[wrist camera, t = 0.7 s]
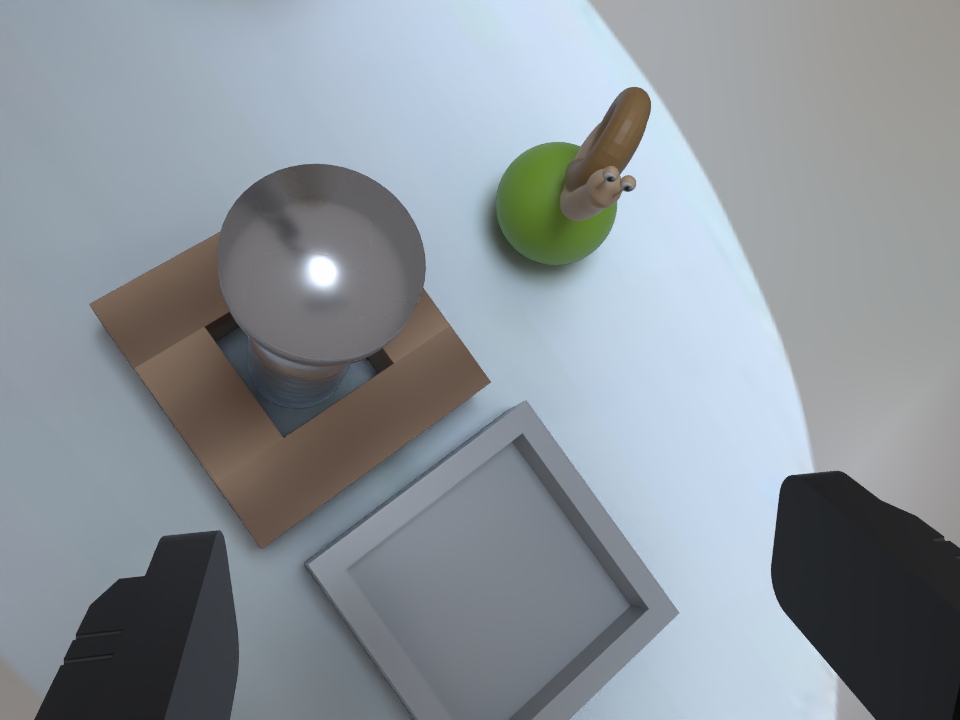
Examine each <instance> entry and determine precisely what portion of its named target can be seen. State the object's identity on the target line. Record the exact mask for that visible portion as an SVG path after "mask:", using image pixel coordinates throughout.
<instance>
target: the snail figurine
mask: <svg viewBox="0 0 960 720" xmlns="http://www.w3.org/2000/svg"><path fill="white" fill-rule="evenodd" d="M650 111H651V101H650V98H649V96H648V94H647V92H645V91H644V90H643V89H641V88H638V87H630V88H627V89H625V90H624V91H622V92H621V93H620V94H619V95H618V96H617V98H616V99H615V100H614V102H613V103H612V105H611V106H610V108H609V110H608V111H607V113H606V115H605V117H604V118H603V120H602V122H601V123H600V124H599V125H597V126H596V128H595V129H594V130H593V131H592V132H591V133H590V135H589V136H588V137H587V139H586V140H585V141H584V143H583V144H582V146H581V147H580V146H577V145H574V144H570V143H564V142H551V143H545V144H541V145H538V146H535V147H533V148H531V149H529V150H527V151H525V152H524V153H522V154H521V155H520V156H519V157H517V158H516V159H515V160H514V161H513V162H512V163H511V165H510V166H509V167H508V169H507V170H506V172H505V173H504V175H503V177H502V179H501V181H500V184H499V187H498V191H497V197H496V212H497V218H498V222H499V225H500V228H501V230H502V232H503V234H504V236H505V237H506V239H507V240H508V242H509V243H510V244H511V245H512V246H513V248H514V249H516V250H517V251H518V252H519V253H520V254H522V255H523V256H525V257H527V258H529V259H531V260H533V261H535V262H539V263H542V264H548V265H563V264H569V263H572V262H575V261H578V260H580V259H583V258H584V257H586V256H588V255H589V254H591V253H592V252H593V251H595V250H596V249H597V248H598V247H599V246H600V245H601V244H602V243H603V241H604V240H605V239H606V237H607V236H608V234H609V232H610V230H611V228H612V226H613V223H614V220H615V216H616V211H617V200H618V199H619V197H620V195H621V193H622V191H626V192H630V191H632V190H633V189H634V188H635V187H636V180H635V178H634V177H632V176H629V175H627V176H624V177H623V178H622V179H621V177H620V174H621V173H622V171H623V170H624V169H625V167H626V166H627V164H628V163H629V161H630V160H631V158H632V156H633V155H634V153H635V151H636V149H637V147H638V145H639V143H640V141H641V139H642V137H643V134H644V132H645V128H646V124H647V121H648V119H649V115H650Z"/></svg>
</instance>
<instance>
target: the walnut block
mask: <svg viewBox="0 0 960 720" xmlns="http://www.w3.org/2000/svg"><path fill="white" fill-rule="evenodd" d="M219 236H220V232H219V233H217V234H215V235H213V236H212V237H210V238H208V239H206V240H204V241H203V242H201V243H199V244H197V245H195V246H194V247H192V248H190V249H188V250H186V251H184V252H183V253H181V254H179V255H177V256H175V257H174V258H172V259H170V260H168V261H166V262H165V263H163V264H161V265H159V266H157V267H155V268H154V269H152V270H150V271H148V272H146V273H145V274H143V275H141V276H139V277H137V278H136V279H134V280H132V281H130V282H128V283H127V284H125V285H123V286H121V287H119V288H117V289H116V290H114V291H112V292H110V293H108V294H107V295H105V296H103V297H101V298H99V299H98V300H96V301H94V302H92V303H90V304H89V305H90V307H91V308H92V310H93V311H94V313H95V314H96V316H97V317H98V319H99V320H100V322H101V323H102V325H103V326H104V328H105V329H106V331H107V332H108V333H109V335H110V336H111V338H112V339H113V340H114V342H115V343H116V345H117V346H118V348H119V349H120V350H121V352H122V353H123V355H124V356H125V357H126V359H127V360H128V362H129V363H130V364H131V366H132V367H133V369H134V370H135V371H136V373H137V374H138V376H139V377H140V379H141V380H142V381H143V383H144V384H145V386H146V387H147V388H148V390H149V391H150V393H151V394H152V395H153V397H154V398H155V400H156V401H157V403H158V404H159V405H160V407H161V408H162V410H163V411H164V412H165V414H166V415H167V417H168V418H169V419H170V421H171V422H172V424H173V425H174V426H175V428H176V429H177V431H178V432H179V434H180V435H181V436H182V438H183V439H184V441H185V442H186V443H187V445H188V446H189V448H190V449H191V450H192V452H193V453H194V455H195V456H196V458H197V459H198V460H199V462H200V463H201V465H202V466H203V467H204V469H205V470H206V472H207V473H208V474H209V476H210V477H211V479H212V480H213V482H214V483H215V484H216V486H217V487H218V489H219V490H220V491H221V493H222V494H223V496H224V497H225V498H226V500H227V501H228V503H229V504H230V505H231V507H232V508H233V510H234V511H235V513H236V514H237V515H238V517H239V518H240V520H241V521H242V522H243V524H244V525H245V527H246V528H247V529H248V531H249V532H250V534H251V535H252V537H253V538H254V539H255V541H256V542H257V544H258V545H259V546H260V548H264V547H265V546H266V545H268V544H269V543H270V542H272V541H273V540H275V539H276V538H277V537H279V536H280V535H281V534H283V533H284V532H286V531H287V530H288V529H290V528H291V527H292V526H294V525H295V524H297V523H298V522H299V521H301V520H302V519H303V518H305V517H306V516H308V515H309V514H310V513H312V512H313V511H314V510H316V509H317V508H319V507H320V506H321V505H323V504H324V503H326V502H327V501H328V500H330V499H331V498H332V497H334V496H335V495H337V494H338V493H339V492H341V491H342V490H343V489H345V488H346V487H348V486H349V485H350V484H352V483H353V482H354V481H356V480H357V479H359V478H360V477H361V476H363V475H364V474H365V473H367V472H368V471H370V470H371V469H372V468H374V467H375V466H376V465H378V464H379V463H381V462H382V461H383V460H385V459H386V458H387V457H389V456H390V455H392V454H393V453H394V452H396V451H397V450H398V449H400V448H401V447H403V446H404V445H405V444H407V443H408V442H410V441H411V440H412V439H414V438H415V437H416V436H418V435H419V434H421V433H422V432H423V431H425V430H426V429H427V428H429V427H430V426H432V425H433V424H434V423H436V422H437V421H438V420H440V419H441V418H443V417H444V416H445V415H447V414H448V413H449V412H451V411H452V410H454V409H455V408H456V407H458V406H459V405H460V404H462V403H463V402H465V401H466V400H467V399H469V398H470V397H471V396H473V395H474V394H476V393H477V392H478V391H480V390H481V389H483V388H484V387H485V386H487V385H488V384H489V383H491V381H490V380H489V379H488V377H487V376H486V374H485V373H484V372H483V370H482V369H481V368H480V366H479V365H478V363H477V362H476V361H475V359H474V358H473V356H472V355H471V354H470V352H469V351H468V349H467V348H466V347H465V345H464V344H463V342H462V341H461V340H460V338H459V337H458V336H457V334H456V333H455V331H454V330H453V329H452V327H451V326H450V324H449V323H448V322H447V320H446V319H445V317H444V316H443V315H442V313H441V312H440V311H439V309H438V308H437V306H436V305H435V304H434V302H433V301H432V299H431V298H430V297H429V295H428V294H427V292H426V291H425V290H424V288H423V290H422V294H421V296H420V299H419V302H418V304H417V306H416V308H415V310H414V312H413V313H412V315H411V317H410V318H409V319H408V321H407V322H406V324H405V325H404V326H403V328H402V329H401V330H400V332H399V333H398V334H397V335H396V336H395V337H394V338H393V339H392V340H391V341H390V343H388V344H387V345H386V346H384V347H383V348H382V349H381V350H379V351H378V352H376V353H374V354H372V355H371V356H369V357H367V358H368V359H369V361H370V362H371V363H372V365H373V366H374V368H375V369H376V370H377V372H378V373H379V374H378V375H376V376H375V377H373V378H372V379H370V380H369V381H367V382H366V383H364V384H363V385H361V386H360V387H358V388H357V389H355V390H354V391H353V392H351V393H350V394H348V395H347V396H345V397H344V398H342V399H341V400H339V401H338V402H336V403H335V404H333V405H332V406H330V407H329V408H327V409H326V410H324V411H323V412H321V413H320V414H319V415H317V416H316V417H314V418H313V419H311V420H310V421H308V422H307V423H305V424H304V425H302V426H301V427H299V428H298V429H296V430H295V431H293V432H292V433H290V434H289V435H288V436H286V437H285V438H283V436H282V435H281V434H280V432H279V431H278V429H277V428H276V426H275V425H274V424H273V422H272V421H271V419H270V418H269V417H268V415H267V414H266V412H265V411H264V410H263V408H262V407H261V405H260V404H259V403H258V401H257V400H256V398H255V397H254V396H253V394H252V393H251V391H250V390H249V389H248V387H247V386H246V384H245V383H244V382H243V380H242V379H241V377H240V376H239V375H238V373H237V372H236V370H235V369H234V367H233V366H232V365H231V363H230V362H229V360H228V359H227V358H226V356H225V355H224V353H223V352H222V351H221V349H220V348H219V346H218V345H217V344H216V342H215V341H216V340H218V339H219V338H221V337H223V336H224V335H226V334H228V333H229V332H231V331H233V330H234V329H236V328H237V327H239V325H238V324H237V323H236V321H235V320H234V318H233V316H232V315H231V313H230V312H229V309H228V307H227V305H226V303H225V300H224V298H223V294H222V291H221V287H220V280H219V273H218V263H217V248H218V242H219Z"/></svg>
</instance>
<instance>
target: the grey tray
mask: <svg viewBox="0 0 960 720" xmlns="http://www.w3.org/2000/svg"><path fill="white" fill-rule="evenodd" d="M304 564H305V566H306V567H307V569H308V570H309V571H310V573H311V574H312V576H313V577H314V578H315V580H316V581H317V583H318V584H319V586H320V587H321V588H322V590H323V591H324V593H325V594H326V595H327V597H328V598H329V600H330V601H331V602H332V604H333V605H334V607H335V608H336V609H337V611H338V612H339V614H340V615H341V616H342V618H343V619H344V621H345V622H346V624H347V625H348V626H349V628H350V629H351V631H352V632H353V633H354V635H355V636H356V638H357V639H358V640H359V642H360V643H361V645H362V646H363V647H364V649H365V650H366V652H367V653H368V655H369V656H370V657H371V659H372V660H373V662H374V663H375V664H376V666H377V667H378V669H379V670H380V671H381V673H382V674H383V676H384V677H385V678H386V680H387V681H388V683H389V684H390V686H391V687H392V688H393V690H394V691H395V693H396V694H397V695H398V697H399V698H400V700H401V701H402V702H403V704H404V705H405V707H406V708H407V709H408V711H409V712H410V714H411V715H412V717H413V718H414V719H415V720H569V719H570V718H571V717H572V716H573V715H574V714H575V713H576V712H577V711H578V710H579V709H580V708H581V707H582V706H583V705H584V704H585V703H587V702H588V701H589V700H590V699H591V698H592V697H593V696H594V695H595V694H596V693H597V692H598V691H599V690H600V689H601V688H602V687H603V686H604V685H605V684H606V683H607V682H608V681H609V680H610V679H611V678H612V677H613V676H615V675H616V674H617V673H618V672H619V671H620V670H621V669H622V668H623V667H624V666H625V665H626V664H627V663H628V662H629V661H630V660H631V659H632V658H633V657H634V656H635V655H636V654H637V653H638V652H639V651H640V650H641V649H643V648H644V647H645V646H646V645H647V644H648V643H649V642H650V641H651V640H652V639H653V638H654V637H655V636H656V635H657V634H658V633H659V632H660V631H661V630H662V629H663V628H664V627H665V626H666V625H667V624H668V623H669V622H670V621H672V620H673V619H674V618H675V617H676V616H677V615H678V614H679V612H678V610H677V609H676V607H675V606H674V605H673V603H672V602H671V600H670V599H669V598H668V596H667V595H666V594H665V592H664V591H663V589H662V588H661V587H660V585H659V584H658V582H657V581H656V580H655V578H654V577H653V575H652V574H651V573H650V571H649V570H648V569H647V567H646V566H645V564H644V563H643V562H642V560H641V559H640V557H639V556H638V555H637V553H636V552H635V550H634V549H633V548H632V546H631V545H630V544H629V542H628V541H627V539H626V538H625V537H624V535H623V534H622V532H621V531H620V530H619V528H618V527H617V525H616V524H615V523H614V521H613V520H612V519H611V517H610V516H609V514H608V513H607V512H606V510H605V509H604V507H603V506H602V505H601V503H600V502H599V500H598V499H597V498H596V496H595V495H594V494H593V492H592V491H591V489H590V488H589V487H588V485H587V484H586V482H585V481H584V480H583V478H582V477H581V475H580V474H579V473H578V471H577V470H576V469H575V467H574V466H573V464H572V463H571V462H570V460H569V459H568V457H567V456H566V455H565V453H564V452H563V450H562V449H561V448H560V446H559V445H558V444H557V442H556V441H555V439H554V438H553V437H552V435H551V434H550V432H549V431H548V430H547V428H546V427H545V425H544V424H543V423H542V421H541V420H540V419H539V417H538V416H537V414H536V413H535V412H534V410H533V409H532V407H531V406H530V405H529V403H528V402H527V400H526V401H524V402H522V403H520V404H518V405H516V406H515V407H513V408H511V409H509V410H507V411H506V412H505V413H503V414H502V415H501V416H499V417H498V418H497V419H495V420H494V421H493V422H491V423H490V424H489V425H487V426H486V427H485V428H483V429H482V430H481V431H479V432H478V433H477V434H475V435H474V436H473V437H471V438H470V439H469V440H467V441H466V442H465V443H463V444H462V445H461V446H459V447H458V448H457V449H455V450H454V451H453V452H451V453H450V454H449V455H447V456H446V457H445V458H443V459H442V460H441V461H439V462H438V463H437V464H435V465H434V466H433V467H431V468H430V469H429V470H427V471H426V472H425V473H423V474H422V475H421V476H419V477H418V478H417V479H415V480H414V481H413V482H411V483H410V484H409V485H407V486H406V487H405V488H403V489H402V490H401V491H399V492H398V493H397V494H395V495H394V496H393V497H391V498H390V499H389V500H387V501H386V502H385V503H383V504H382V505H381V506H379V507H378V508H377V509H375V510H374V511H373V512H371V513H370V514H369V515H367V516H366V517H365V518H363V519H362V520H361V521H359V522H358V523H357V524H355V525H354V526H353V527H351V528H350V529H349V530H347V531H346V532H345V533H343V534H342V535H341V536H339V537H338V538H337V539H335V540H334V541H333V542H331V543H330V544H329V545H327V546H326V547H324V548H323V549H322V550H320V551H319V552H318V553H316V554H315V555H314V556H312V557H311V558H310V559H308V560H307V561H306V562H304Z"/></svg>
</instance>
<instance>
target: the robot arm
mask: <svg viewBox="0 0 960 720" xmlns="http://www.w3.org/2000/svg"><path fill="white" fill-rule="evenodd" d="M771 578H772V584H773V589H774V592H775V595H776V598H777V600H778V602H779V604H780V606H781V608H782V609H783V611H784V612H785V613H786V614H787V616H788V617H789V618H790V619H791V620H792V622H793V623H794V624H795V625H796V626H797V627H798V629H799V630H800V631H801V632H802V633H803V634H804V636H805V637H806V638H807V639H808V640H809V642H810V643H811V644H812V645H813V646H814V647H815V649H816V650H817V651H818V652H819V653H820V654H821V656H822V657H823V658H824V659H825V660H826V662H827V663H828V664H829V665H830V666H831V667H832V669H833V670H834V671H835V672H836V673H837V674H838V676H839V677H840V678H841V679H842V680H843V681H844V682H845V684H846V685H847V686H848V687H849V689H850V690H851V691H852V692H853V693H854V694H855V696H856V697H857V698H858V699H859V700H860V701H861V703H862V704H863V705H864V706H865V707H866V709H867V710H868V711H869V712H870V713H871V714H872V716H873V717H874V718H875V719H876V720H960V548H959V547H957V546H956V545H955V544H953V543H952V542H951V541H945V540H944V536H943V535H941V534H940V533H939V532H937V531H936V530H934V529H933V528H932V527H930V526H929V525H928V524H926V523H925V522H923V521H922V520H921V519H919V518H918V517H917V516H915V515H913V514H910V513H908V512H906V511H904V510H901V509H899V508H897V507H895V506H892V505H890V504H888V503H886V502H883V501H881V500H880V499H878V498H877V497H876V496H874V495H873V494H872V493H870V492H869V491H868V490H866V489H865V488H864V487H863V486H861V485H860V484H859V483H857V482H856V481H855V480H853V479H852V478H851V477H849V476H848V475H847V474H845V473H843V472H841V471H830V472H819V473H809V474H799V475H791V476H788V477H787V478H786V479H785V480H784V481H783V483H782V485H781V489H780V494H779V503H778V511H777V520H776V529H775V537H774V546H773V555H772V564H771ZM238 663H239V643H238V630H237V622H236V615H235V608H234V601H233V594H232V586H231V579H230V572H229V565H228V558H227V551H226V545H225V540H224V536H223V534H222V532H221V531H220V530H219V531H209V532H199V533H189V534H179V535H169V536H163V537H161V539H160V540H159V543H158V545H157V548H156V550H155V553H154V555H153V557H152V560H151V562H150V565H149V567H148V570H147V572H146V575H145V576H141V577H132V578H122V579H119V580H117V581H116V582H115V583H114V584H113V585H112V586H111V587H110V588H109V589H108V590H106V591H105V592H104V593H103V594H102V595H101V596H100V597H99V598H98V599H97V600H95V601H94V602H93V603H92V604H91V605H90V607H89V609H88V611H87V613H86V615H85V617H84V619H83V621H82V623H81V625H80V627H79V629H78V631H77V633H76V640H73V641H72V643H71V645H70V648H69V650H68V652H67V654H66V656H65V658H64V665H61V666H60V668H59V670H58V672H57V674H56V676H55V678H54V680H53V682H52V684H51V686H50V689H49V691H48V693H47V695H46V697H45V699H44V701H43V703H42V705H41V707H40V709H39V711H38V713H37V715H36V717H35V719H34V720H230V716H231V710H232V705H233V699H234V693H235V688H236V682H237V676H238Z"/></svg>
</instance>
